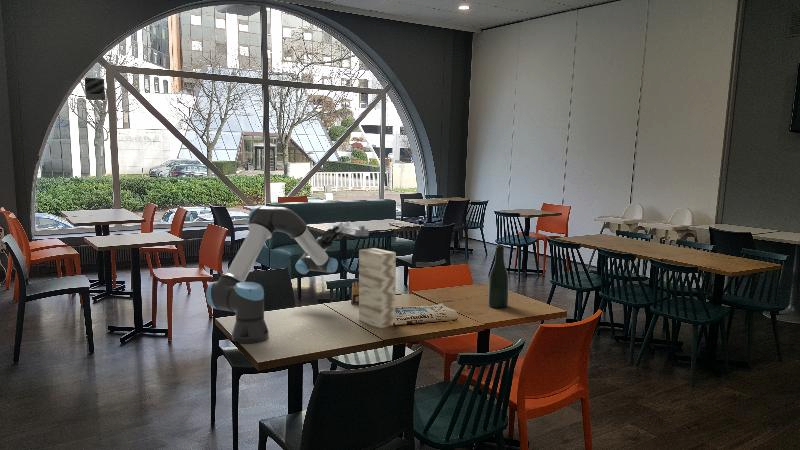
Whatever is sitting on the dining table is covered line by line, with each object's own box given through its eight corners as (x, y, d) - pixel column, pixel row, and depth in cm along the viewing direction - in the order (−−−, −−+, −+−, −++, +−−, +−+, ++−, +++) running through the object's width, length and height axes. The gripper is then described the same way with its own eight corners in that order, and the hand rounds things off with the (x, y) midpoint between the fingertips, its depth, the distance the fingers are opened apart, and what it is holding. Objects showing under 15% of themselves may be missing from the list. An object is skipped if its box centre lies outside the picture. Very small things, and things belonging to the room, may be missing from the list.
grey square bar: (360, 236, 261) (360, 227, 260) (330, 231, 280) (330, 222, 279) (371, 235, 265) (371, 226, 264) (341, 230, 284) (341, 221, 283)
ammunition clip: (352, 304, 293) (352, 282, 292) (350, 303, 295) (350, 281, 294) (370, 302, 299) (370, 280, 297) (368, 301, 300) (368, 279, 299)
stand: (380, 328, 252) (380, 254, 248) (358, 320, 264) (359, 249, 260) (395, 324, 258) (395, 252, 254) (373, 317, 270) (374, 248, 266)
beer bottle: (509, 309, 287) (512, 246, 283) (489, 308, 287) (491, 245, 283) (506, 303, 297) (508, 243, 294) (486, 303, 298) (488, 242, 294)
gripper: (308, 237, 287) (330, 218, 271) (334, 235, 298) (356, 216, 281) (312, 250, 285) (334, 232, 269) (338, 248, 296) (361, 229, 279)
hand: (345, 224), depth 275 cm, fingers closed on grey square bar, 3 cm apart
